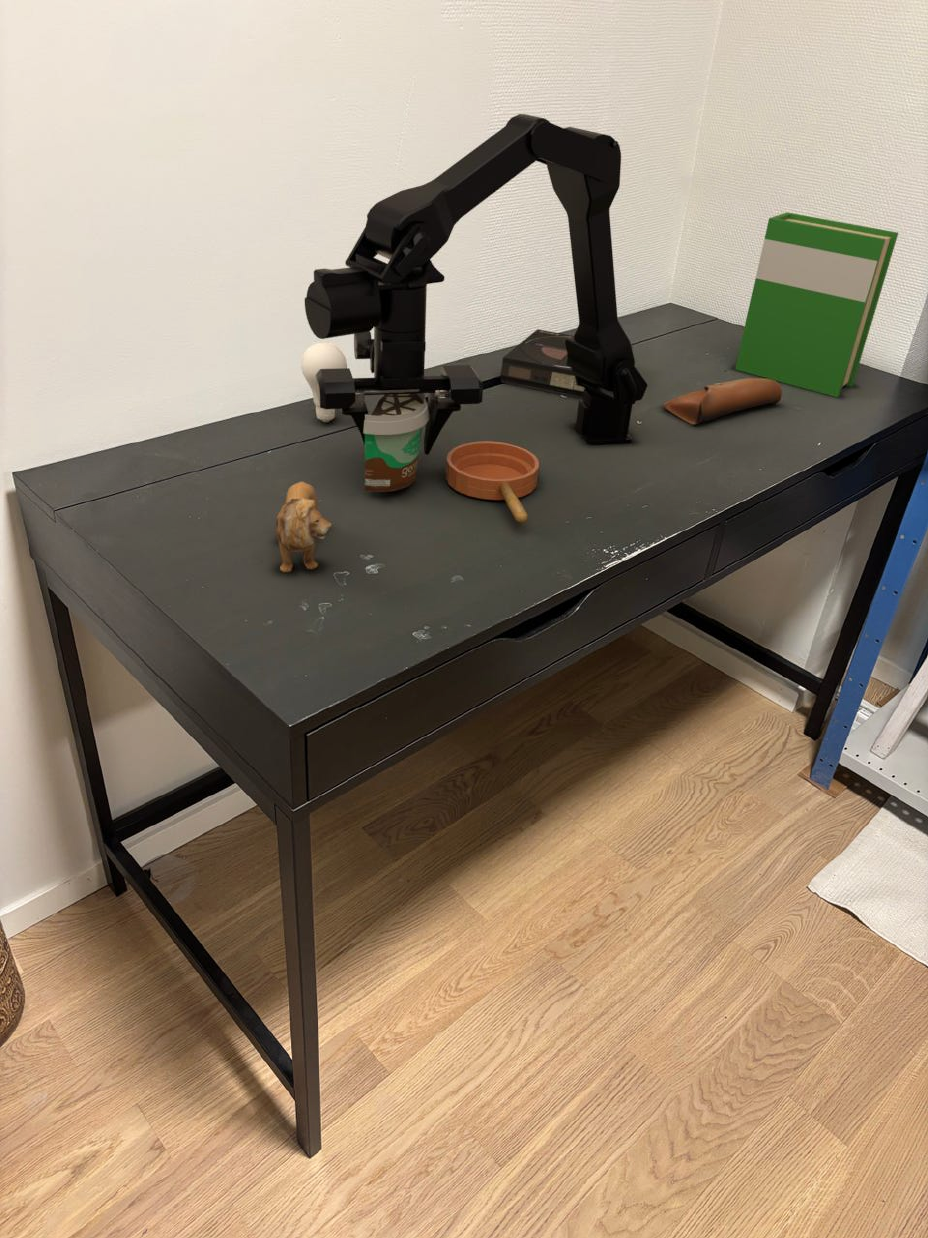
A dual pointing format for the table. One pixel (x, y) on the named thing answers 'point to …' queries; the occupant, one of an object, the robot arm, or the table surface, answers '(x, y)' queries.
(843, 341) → the hardback book
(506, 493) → the pan handle
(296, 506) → the lion figurine
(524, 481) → the pan
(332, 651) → the table surface
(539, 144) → the robot arm
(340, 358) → the lightbulb
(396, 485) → the food container
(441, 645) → the table surface
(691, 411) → the sunglasses case
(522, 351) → the portable cd player
